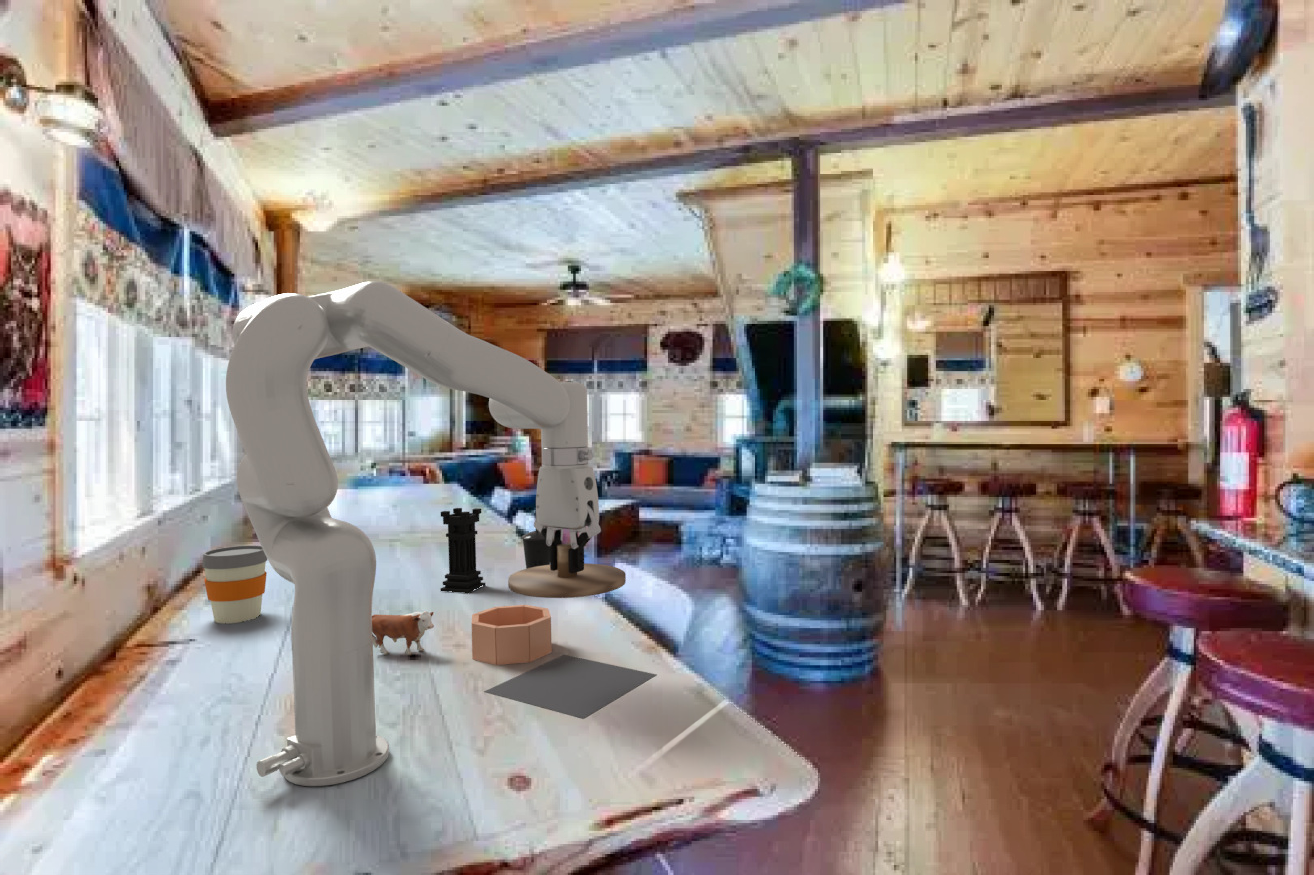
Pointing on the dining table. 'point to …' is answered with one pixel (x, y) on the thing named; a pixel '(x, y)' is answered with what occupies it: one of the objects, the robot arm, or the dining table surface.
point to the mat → (571, 685)
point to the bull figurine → (401, 629)
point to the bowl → (511, 634)
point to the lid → (566, 579)
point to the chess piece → (462, 551)
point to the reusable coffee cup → (235, 582)
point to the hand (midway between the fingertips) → (567, 569)
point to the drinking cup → (536, 549)
